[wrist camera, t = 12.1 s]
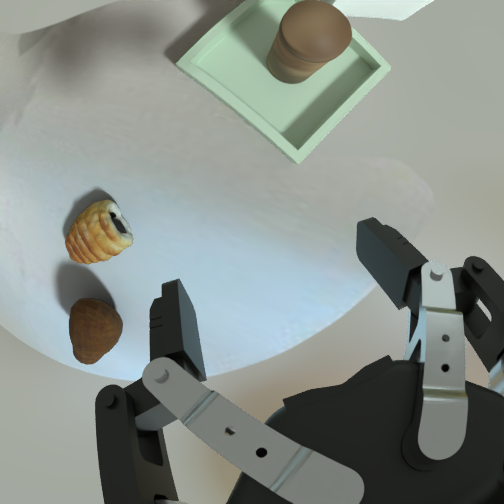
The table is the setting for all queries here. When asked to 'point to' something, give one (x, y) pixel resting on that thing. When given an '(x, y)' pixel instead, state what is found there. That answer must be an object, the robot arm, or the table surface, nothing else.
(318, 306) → the table surface
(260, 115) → the bin
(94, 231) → the pastry
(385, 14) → the milk
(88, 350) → the potato
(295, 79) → the pepper mill
